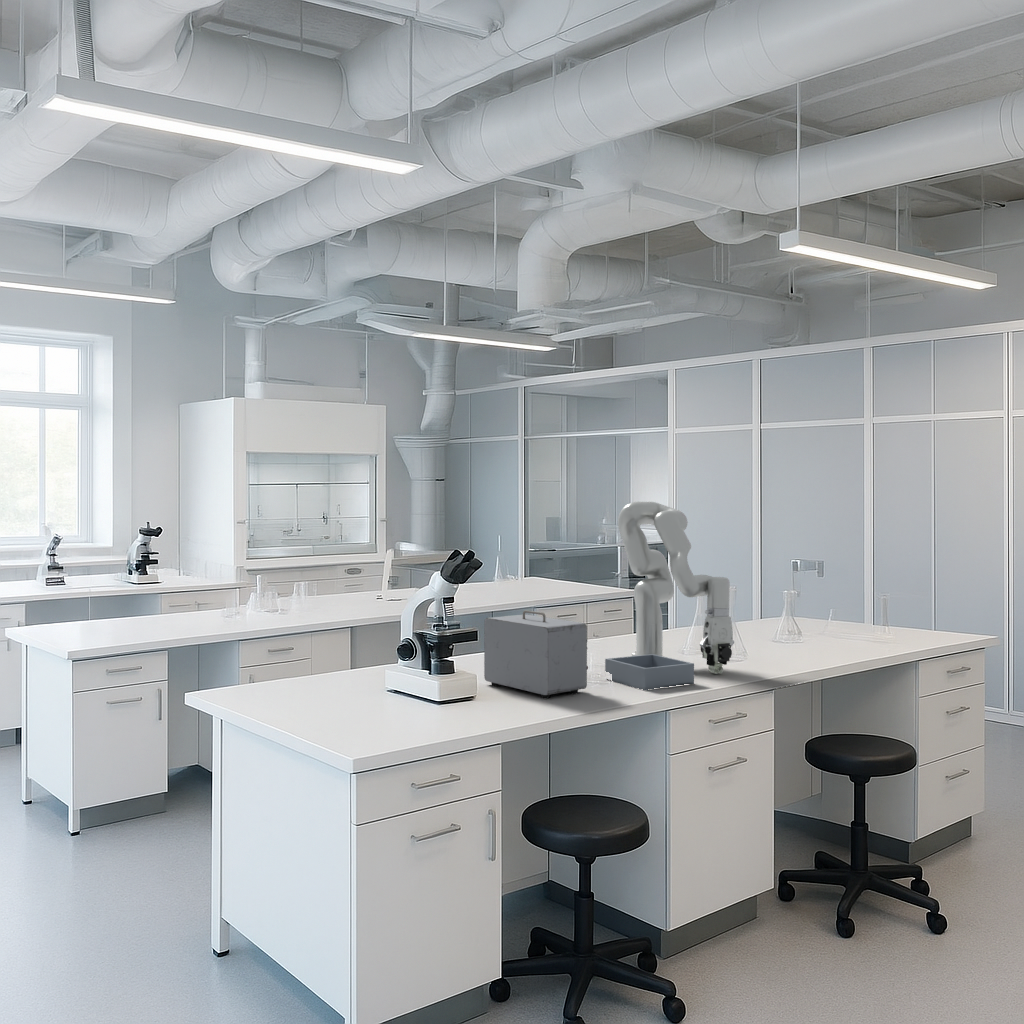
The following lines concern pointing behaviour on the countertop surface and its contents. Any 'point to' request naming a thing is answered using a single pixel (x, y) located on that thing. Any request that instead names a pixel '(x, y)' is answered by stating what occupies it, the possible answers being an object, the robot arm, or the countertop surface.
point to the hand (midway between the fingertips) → (716, 664)
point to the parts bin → (649, 671)
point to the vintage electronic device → (535, 653)
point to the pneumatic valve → (719, 656)
